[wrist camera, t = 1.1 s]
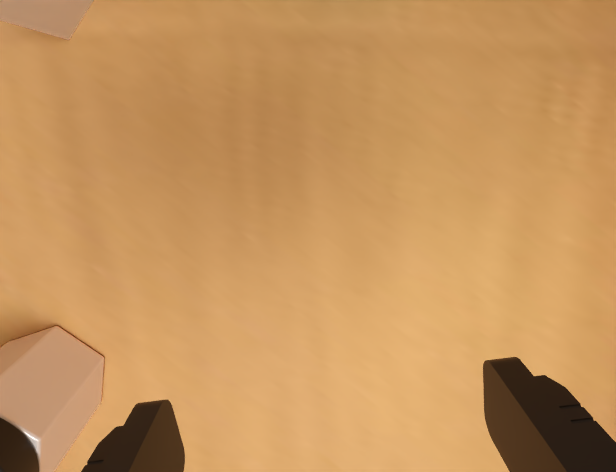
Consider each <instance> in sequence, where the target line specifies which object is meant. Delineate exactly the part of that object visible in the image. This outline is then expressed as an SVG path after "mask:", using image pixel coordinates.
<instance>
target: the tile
mask: <svg viewBox="0 0 616 472" xmlns="http://www.w3.org/2000/svg"><path fill="white" fill-rule="evenodd" d="M92 2H93V0H0V21H4V22H7V23H11V24H14V25H18V26H21V27H25V28H28V29H32V30H35V31H39V32H42V33H46V34H49V35H53V36H56V37H60V38H63V39H66V40H70V38H71V37H72V35H73V33H74V32H75V30H76V28H77V27H78V25H79V23H80V22H81V20H82V18H83V17H84V15H85V14H86V12H87V10H88V9H89V7H90V5H91V4H92Z"/></svg>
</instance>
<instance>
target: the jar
mask: <svg viewBox="0 0 616 472" xmlns="http://www.w3.org/2000/svg"><path fill="white" fill-rule="evenodd" d="M103 370H104V357H103V356H102V355H100V354H99V353H97V352H96V351H94V350H93V349H91V348H90V347H88V346H87V345H85V344H84V343H82V342H81V341H79V340H78V339H76V338H75V337H73V336H72V335H70V334H69V333H67V332H66V331H64V330H63V329H61V328H60V327H58V326H54V327H51V328H48V329H45V330H42V331H39V332H36V333H33V334H30V335H27V336H24V337H21V338H18V339H15V340H12V341H9V342H7V343H6V344H5V345H3V346H2V347H1V348H0V472H55V470H56V469H57V467H58V466H59V464H60V463H61V461H62V460H63V458H64V457H65V455H66V454H67V452H68V451H69V449H70V448H71V446H72V445H73V443H74V442H75V441H76V439H77V438H78V436H79V435H80V433H81V432H82V430H83V429H84V427H85V426H86V424H87V423H88V421H89V420H90V418H91V417H92V415H93V414H94V412H95V411H96V410H97V408H98V407H99V405H100V404H101V400H102V385H103Z"/></svg>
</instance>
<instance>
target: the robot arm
mask: <svg viewBox="0 0 616 472" xmlns="http://www.w3.org/2000/svg"><path fill="white" fill-rule="evenodd" d="M483 382H484V413H485V420H486V424H487V428H488V431H489V434H490V436H491V438H492V440H493V442H494V444H495V446H496V448H497V449H498V451H499V453H500V455H501V457H502V458H503V460H504V462H505V464H506V466H507V468H508V469H509V471H510V472H616V442H615V441H614V440H613V439H612V438H611V437H610V436H609V435H608V434H607V433H606V432H605V430H604V429H603V428H602V427H601V426H600V425H599V424H598V423H597V422H596V421H594V420H593V417H592V416H591V415H590V414H589V413H588V412H587V411H586V410H585V408H584V407H581V405H580V403H579V402H578V401H577V400H576V399H575V397H574V396H573V395H572V394H571V393H570V392H569V391H568V390H567V389H566V388H565V387H564V386H562V385H560V384H559V383H557V382H555V381H554V380H552V379H550V378H548V377H547V376H545V375H542V376H533V375H532V374H531V372H530V371H529V370H528V369H527V368H526V366H525V365H524V364H523V363H522V362H521V360H520V359H519V358H517V357H511V358H503V359H495V360H487V361H485V362H484V364H483ZM184 463H185V454H184V447H183V443H182V440H181V436H180V433H179V429H178V426H177V422H176V419H175V415H174V411H173V408H172V405H171V403H170V401H169V400H159V401H151V402H143V403H138V404H136V405H135V407H134V408H133V410H132V412H131V413H130V415H129V417H128V419H127V420H126V422H125V424H124V426H119V427H116V428H114V429H113V430H112V431H111V432H110V433H109V434H108V435H107V436H106V437H105V438H104V439H103V440H102V441H101V442H100V443H99V444H98V445H97V447H96V449H95V450H94V452H93V453H92V455H91V457H90V458H89V460H88V464H87V465H85V467H84V468H83V470H82V471H81V472H183V471H184Z"/></svg>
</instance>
